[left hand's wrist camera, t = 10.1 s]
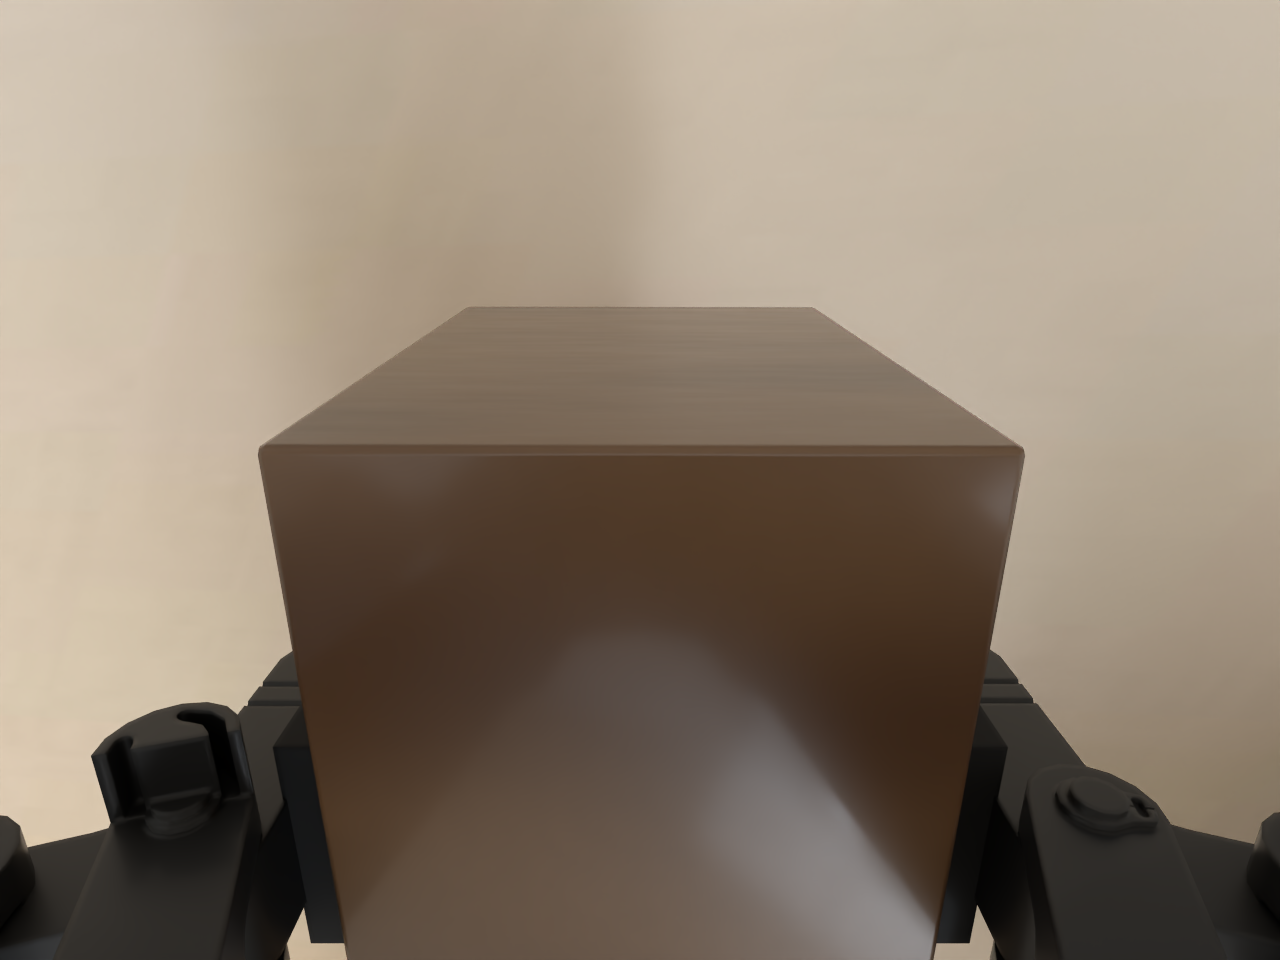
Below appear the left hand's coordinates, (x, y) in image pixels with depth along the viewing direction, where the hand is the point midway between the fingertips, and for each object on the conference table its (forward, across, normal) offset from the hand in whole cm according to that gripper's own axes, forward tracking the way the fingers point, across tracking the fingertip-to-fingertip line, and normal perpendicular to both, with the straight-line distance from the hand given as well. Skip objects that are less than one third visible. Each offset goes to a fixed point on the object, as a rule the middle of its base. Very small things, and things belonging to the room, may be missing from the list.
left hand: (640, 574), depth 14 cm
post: (+1, 0, -34) cm, 34 cm away
